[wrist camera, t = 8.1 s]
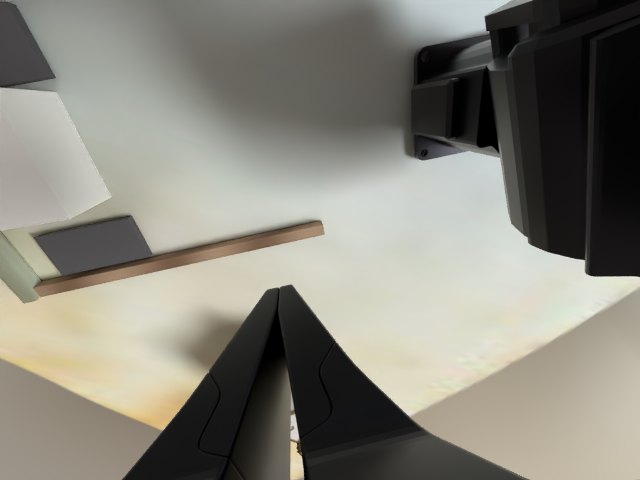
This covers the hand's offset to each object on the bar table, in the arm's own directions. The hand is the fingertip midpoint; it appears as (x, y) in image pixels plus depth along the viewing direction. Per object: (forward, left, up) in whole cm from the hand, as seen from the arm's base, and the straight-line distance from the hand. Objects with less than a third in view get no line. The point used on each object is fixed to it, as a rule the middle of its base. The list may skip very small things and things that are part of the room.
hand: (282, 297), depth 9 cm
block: (+13, -5, -11) cm, 18 cm away
